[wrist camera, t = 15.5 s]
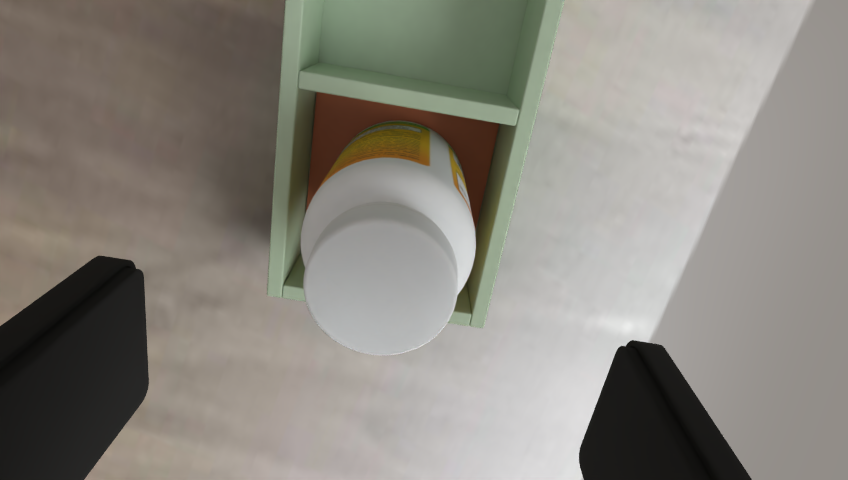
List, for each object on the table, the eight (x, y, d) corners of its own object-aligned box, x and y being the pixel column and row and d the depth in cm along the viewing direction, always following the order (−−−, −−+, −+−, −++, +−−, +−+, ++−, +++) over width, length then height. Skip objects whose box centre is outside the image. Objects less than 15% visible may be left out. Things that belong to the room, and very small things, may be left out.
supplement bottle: (310, 192, 23) (233, 306, 14) (386, 90, 21) (355, 145, 12) (410, 264, 24) (399, 411, 15) (490, 173, 22) (530, 278, 13)
